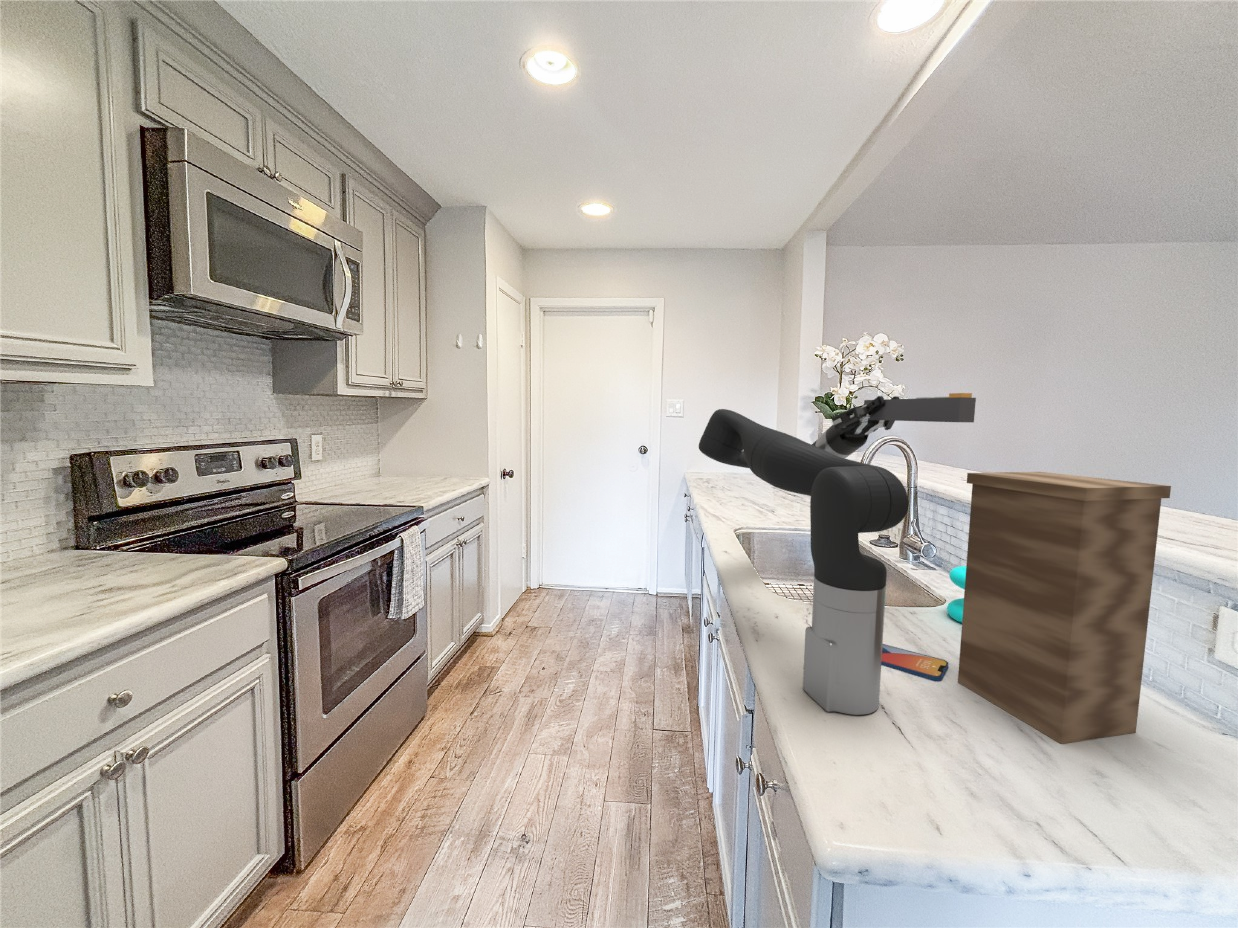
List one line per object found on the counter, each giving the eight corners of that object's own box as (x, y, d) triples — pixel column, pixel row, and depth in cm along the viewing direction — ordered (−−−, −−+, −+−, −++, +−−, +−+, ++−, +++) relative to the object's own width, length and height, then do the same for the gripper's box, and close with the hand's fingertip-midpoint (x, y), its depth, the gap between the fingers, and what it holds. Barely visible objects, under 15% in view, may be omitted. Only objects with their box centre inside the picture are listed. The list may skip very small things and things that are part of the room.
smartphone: (852, 641, 93) (853, 635, 93) (949, 667, 83) (950, 661, 83) (838, 655, 88) (838, 649, 88) (940, 685, 78) (940, 678, 77)
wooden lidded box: (1061, 746, 63) (1086, 488, 60) (952, 680, 78) (967, 472, 75) (1143, 734, 65) (1171, 485, 62) (1021, 672, 81) (1039, 471, 78)
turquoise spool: (1011, 583, 94) (946, 572, 100) (1006, 635, 95) (943, 621, 101) (1012, 570, 102) (953, 561, 108) (1008, 619, 102) (949, 607, 109)
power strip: (958, 422, 82) (960, 393, 82) (863, 419, 105) (864, 396, 104) (973, 422, 83) (976, 393, 83) (875, 419, 105) (877, 396, 105)
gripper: (807, 425, 115) (853, 383, 99) (863, 426, 118) (915, 384, 102) (816, 456, 112) (864, 416, 96) (872, 455, 115) (928, 417, 99)
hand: (890, 400), depth 99 cm, fingers closed on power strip, 3 cm apart
